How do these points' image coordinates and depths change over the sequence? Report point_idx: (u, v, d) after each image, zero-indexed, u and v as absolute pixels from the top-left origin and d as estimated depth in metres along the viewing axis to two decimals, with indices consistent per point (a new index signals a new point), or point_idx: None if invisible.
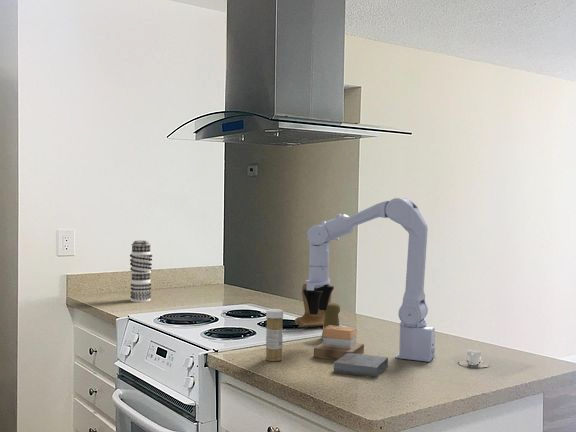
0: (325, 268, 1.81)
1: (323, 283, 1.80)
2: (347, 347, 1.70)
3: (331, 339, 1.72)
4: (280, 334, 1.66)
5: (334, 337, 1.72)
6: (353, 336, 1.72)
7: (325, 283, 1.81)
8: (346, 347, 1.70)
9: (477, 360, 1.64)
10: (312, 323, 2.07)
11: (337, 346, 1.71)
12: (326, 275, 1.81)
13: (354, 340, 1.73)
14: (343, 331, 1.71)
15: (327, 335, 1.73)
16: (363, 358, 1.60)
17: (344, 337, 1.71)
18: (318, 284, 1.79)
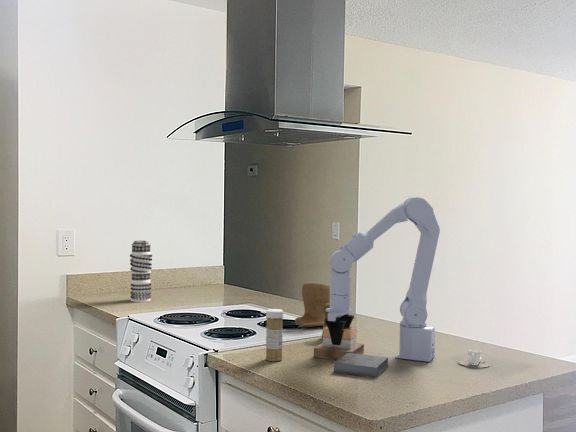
0: (347, 297, 1.71)
1: (345, 313, 1.70)
2: (347, 347, 1.70)
3: None
4: (280, 334, 1.66)
5: None
6: (353, 336, 1.72)
7: (347, 312, 1.71)
8: (346, 347, 1.70)
9: (477, 360, 1.64)
10: (312, 323, 2.07)
11: (337, 346, 1.71)
12: (348, 304, 1.72)
13: (354, 340, 1.73)
14: (343, 331, 1.71)
15: (327, 335, 1.73)
16: (363, 358, 1.60)
17: (344, 337, 1.71)
18: (340, 314, 1.69)
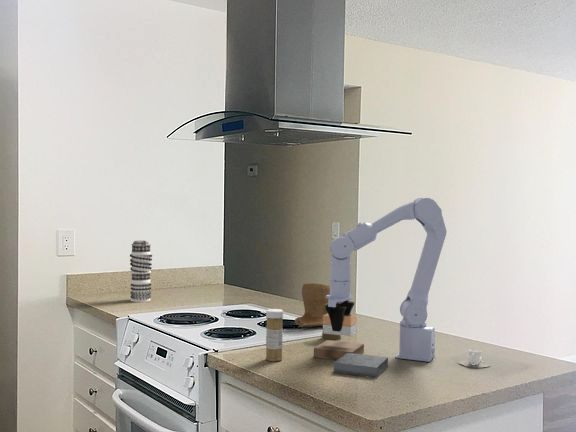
0: (347, 283, 1.71)
1: (345, 299, 1.70)
2: (347, 334, 1.70)
3: None
4: (280, 334, 1.66)
5: None
6: (353, 323, 1.72)
7: (347, 299, 1.71)
8: (346, 334, 1.70)
9: (478, 360, 1.64)
10: (312, 323, 2.07)
11: (337, 333, 1.71)
12: (348, 290, 1.72)
13: (354, 327, 1.73)
14: (343, 318, 1.71)
15: (327, 322, 1.72)
16: (363, 358, 1.60)
17: (344, 324, 1.70)
18: (340, 300, 1.69)
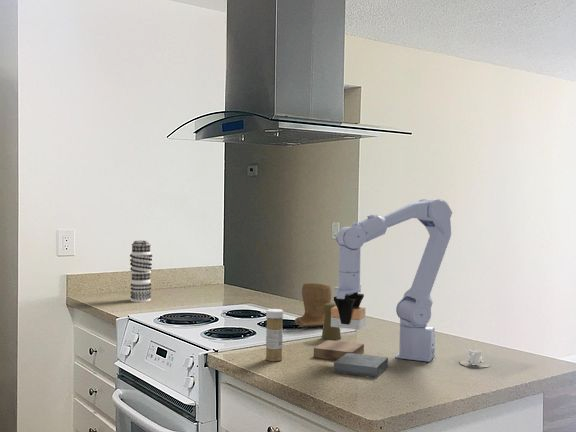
0: (356, 274, 1.65)
1: (354, 290, 1.64)
2: (356, 327, 1.64)
3: None
4: (280, 334, 1.66)
5: None
6: (362, 316, 1.66)
7: (356, 290, 1.65)
8: (355, 327, 1.64)
9: (478, 360, 1.64)
10: (312, 323, 2.07)
11: (346, 326, 1.65)
12: (357, 282, 1.65)
13: (363, 320, 1.67)
14: (352, 311, 1.64)
15: (335, 315, 1.66)
16: (363, 358, 1.60)
17: (353, 317, 1.64)
18: (349, 292, 1.62)
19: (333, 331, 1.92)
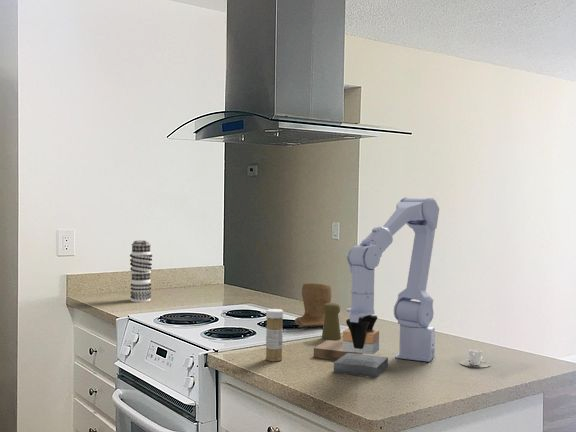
0: (370, 296, 1.56)
1: (368, 313, 1.55)
2: (370, 352, 1.55)
3: (352, 343, 1.57)
4: (280, 334, 1.66)
5: None
6: (376, 340, 1.57)
7: (370, 313, 1.56)
8: (369, 352, 1.55)
9: (478, 360, 1.64)
10: (312, 323, 2.07)
11: (359, 351, 1.56)
12: (371, 304, 1.57)
13: (377, 344, 1.58)
14: (365, 334, 1.56)
15: (348, 339, 1.58)
16: (363, 358, 1.60)
17: (366, 341, 1.55)
18: (363, 315, 1.54)
19: (333, 331, 1.92)
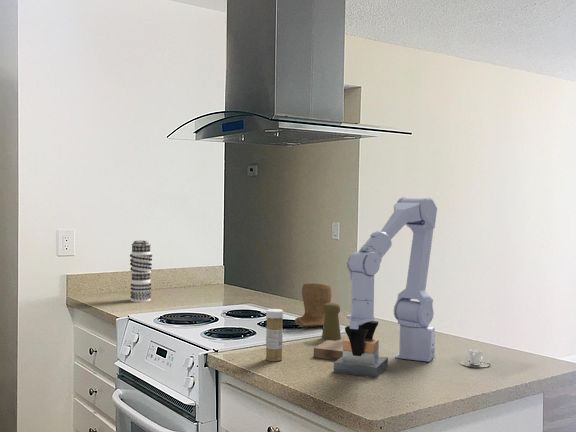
0: (370, 302, 1.56)
1: (368, 320, 1.55)
2: (370, 361, 1.55)
3: None
4: (280, 334, 1.66)
5: None
6: (376, 349, 1.58)
7: (370, 319, 1.56)
8: (369, 361, 1.55)
9: (478, 360, 1.64)
10: (312, 323, 2.07)
11: (359, 360, 1.56)
12: (371, 310, 1.57)
13: (377, 353, 1.58)
14: (365, 344, 1.56)
15: (347, 348, 1.58)
16: None
17: (366, 350, 1.56)
18: (363, 321, 1.54)
19: (333, 331, 1.92)
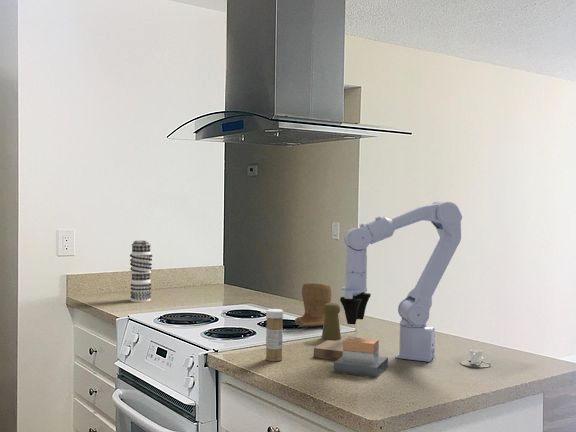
0: (363, 274, 1.69)
1: (361, 290, 1.68)
2: (370, 361, 1.55)
3: (352, 352, 1.57)
4: (280, 334, 1.66)
5: (355, 350, 1.57)
6: (376, 349, 1.58)
7: (363, 290, 1.68)
8: (369, 361, 1.55)
9: (479, 360, 1.64)
10: (312, 323, 2.07)
11: (359, 360, 1.56)
12: (364, 282, 1.69)
13: (377, 353, 1.58)
14: (365, 344, 1.56)
15: (347, 348, 1.58)
16: None
17: (366, 350, 1.56)
18: (356, 292, 1.66)
19: (333, 331, 1.92)
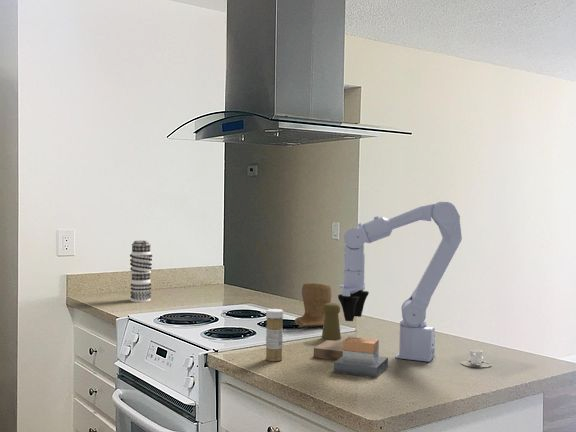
0: (361, 273, 1.73)
1: (359, 288, 1.72)
2: (370, 361, 1.55)
3: (352, 352, 1.57)
4: (280, 334, 1.66)
5: (355, 350, 1.57)
6: (376, 349, 1.58)
7: (361, 288, 1.72)
8: (369, 361, 1.55)
9: (479, 360, 1.65)
10: (312, 323, 2.07)
11: (359, 360, 1.56)
12: (362, 280, 1.73)
13: (377, 353, 1.58)
14: (365, 344, 1.56)
15: (347, 348, 1.58)
16: None
17: (366, 350, 1.56)
18: (354, 289, 1.70)
19: (333, 331, 1.92)
